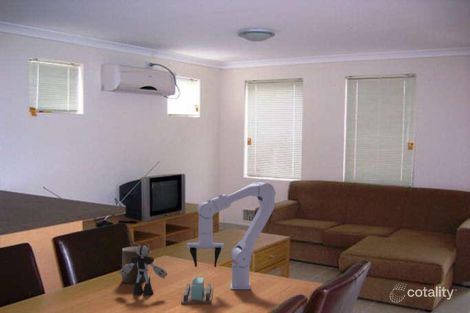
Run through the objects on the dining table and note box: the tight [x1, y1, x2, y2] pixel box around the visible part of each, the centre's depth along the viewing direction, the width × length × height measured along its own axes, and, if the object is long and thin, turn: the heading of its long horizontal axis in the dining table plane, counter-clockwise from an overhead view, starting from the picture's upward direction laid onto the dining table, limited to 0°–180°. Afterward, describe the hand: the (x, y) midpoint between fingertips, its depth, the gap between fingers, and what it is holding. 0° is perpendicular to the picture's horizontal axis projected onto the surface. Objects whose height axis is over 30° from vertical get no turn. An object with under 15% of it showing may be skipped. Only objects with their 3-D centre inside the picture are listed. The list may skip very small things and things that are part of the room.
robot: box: [119, 241, 168, 297], centre depth 195 cm, size 20×5×20 cm, turn 78°
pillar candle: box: [121, 245, 145, 285], centre depth 212 cm, size 10×10×15 cm
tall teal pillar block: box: [190, 277, 205, 300], centre depth 191 cm, size 12×4×5 cm, turn 0°
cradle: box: [180, 283, 214, 305], centre depth 191 cm, size 16×11×3 cm
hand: (205, 266), depth 200 cm, fingers open, 7 cm apart
